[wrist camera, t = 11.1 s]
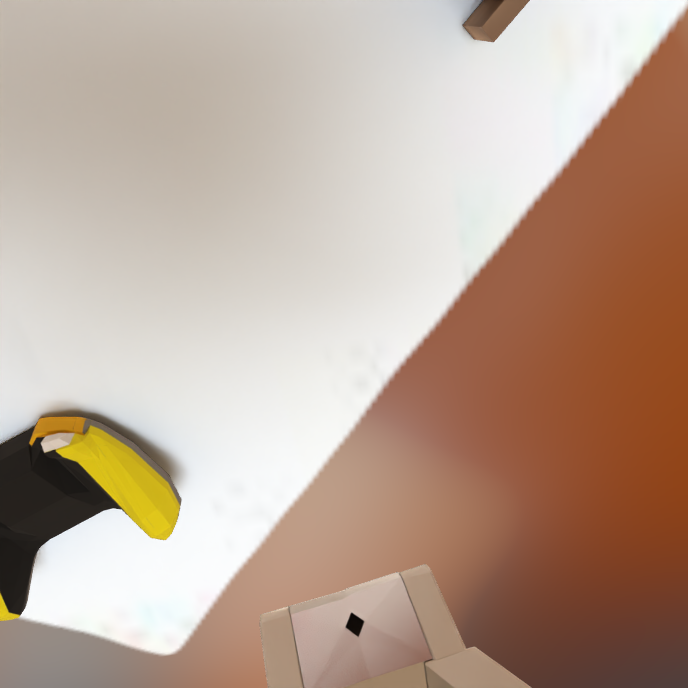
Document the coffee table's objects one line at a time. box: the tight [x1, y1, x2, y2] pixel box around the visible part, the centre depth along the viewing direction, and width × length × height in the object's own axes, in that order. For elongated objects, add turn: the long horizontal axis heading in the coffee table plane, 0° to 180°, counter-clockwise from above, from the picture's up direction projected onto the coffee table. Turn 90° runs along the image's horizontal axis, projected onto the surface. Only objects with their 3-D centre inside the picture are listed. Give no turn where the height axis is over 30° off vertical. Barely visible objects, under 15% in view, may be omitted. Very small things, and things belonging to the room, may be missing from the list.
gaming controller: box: [0, 417, 181, 621], centre depth 39 cm, size 15×6×10 cm
